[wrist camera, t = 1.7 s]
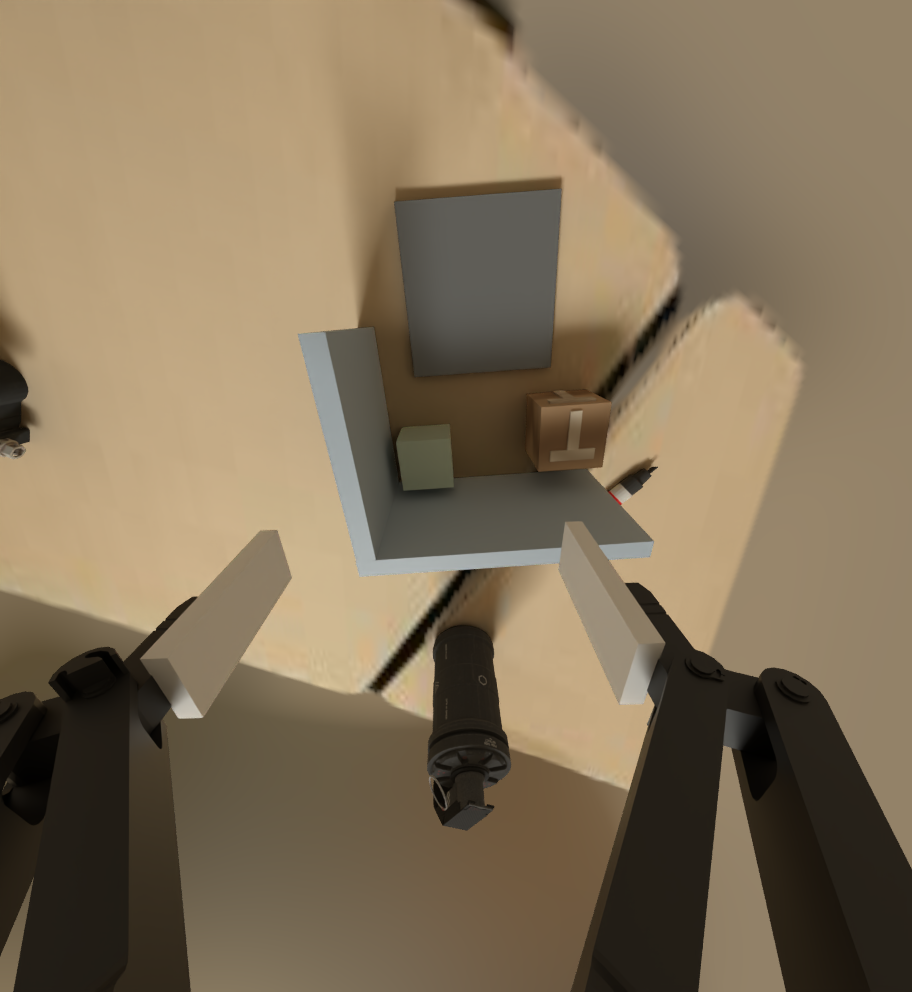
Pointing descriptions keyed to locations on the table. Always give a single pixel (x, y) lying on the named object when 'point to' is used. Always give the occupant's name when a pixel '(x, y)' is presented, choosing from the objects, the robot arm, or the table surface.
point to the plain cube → (425, 457)
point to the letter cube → (566, 429)
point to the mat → (480, 280)
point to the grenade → (465, 727)
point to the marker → (630, 485)
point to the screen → (442, 511)
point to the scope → (12, 412)
